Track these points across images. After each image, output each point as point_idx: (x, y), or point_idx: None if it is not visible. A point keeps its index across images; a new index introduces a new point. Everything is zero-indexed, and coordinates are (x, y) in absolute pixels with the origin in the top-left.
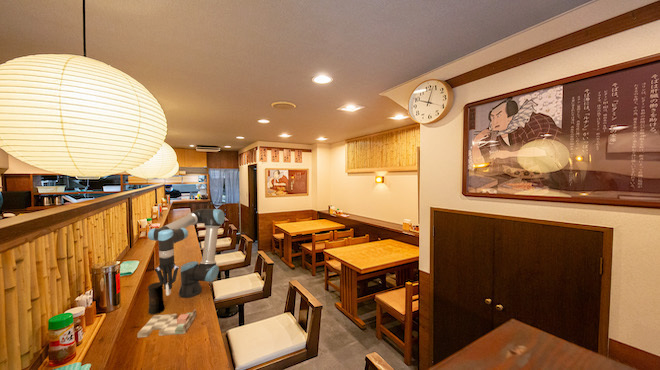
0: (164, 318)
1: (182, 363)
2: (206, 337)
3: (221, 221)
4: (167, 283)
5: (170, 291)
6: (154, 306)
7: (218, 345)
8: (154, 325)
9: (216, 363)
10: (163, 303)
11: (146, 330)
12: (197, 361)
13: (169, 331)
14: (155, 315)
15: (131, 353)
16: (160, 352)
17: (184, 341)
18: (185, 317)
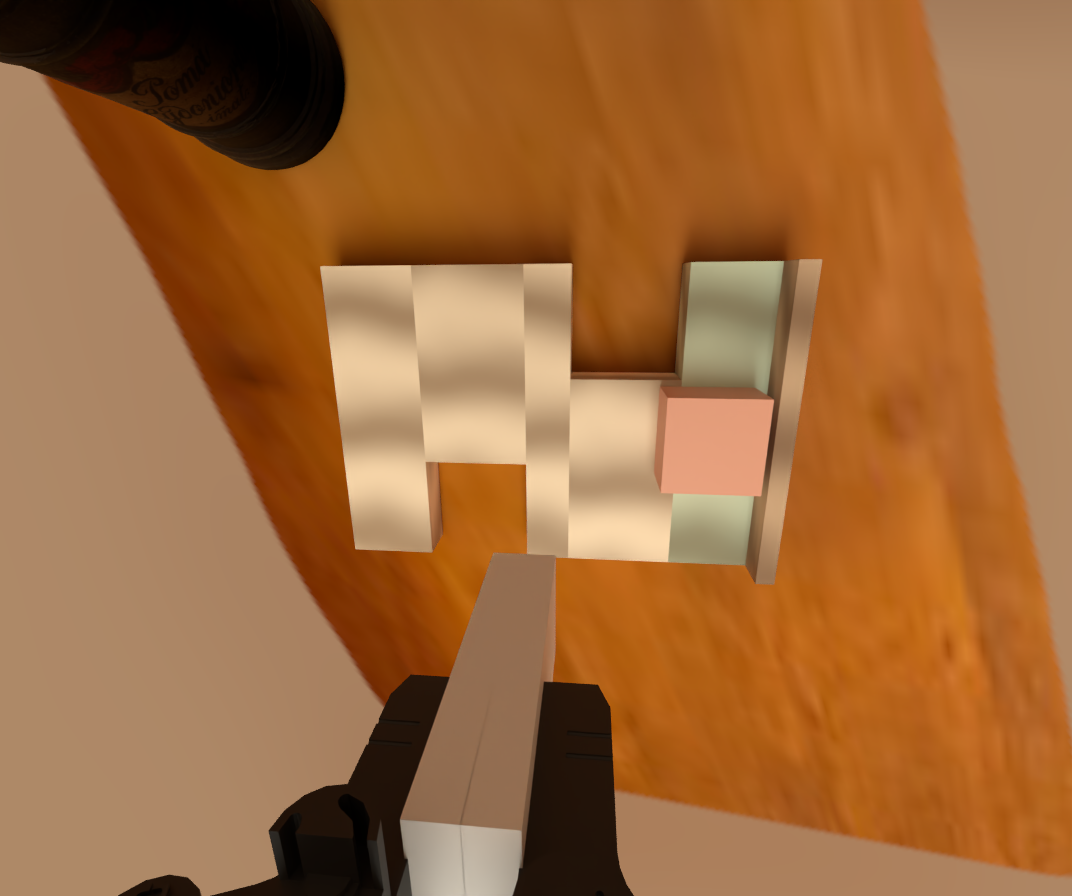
0: (474, 348)
1: (819, 824)
2: (952, 628)
3: None
4: (422, 869)
5: (553, 603)
6: (228, 135)
7: (1061, 730)
8: (437, 457)
9: (1047, 868)
10: (288, 11)
11: (408, 522)
12: (915, 830)
13: (619, 556)
14: (340, 268)
15: None
16: (633, 712)
17: (773, 639)
18: (749, 472)
